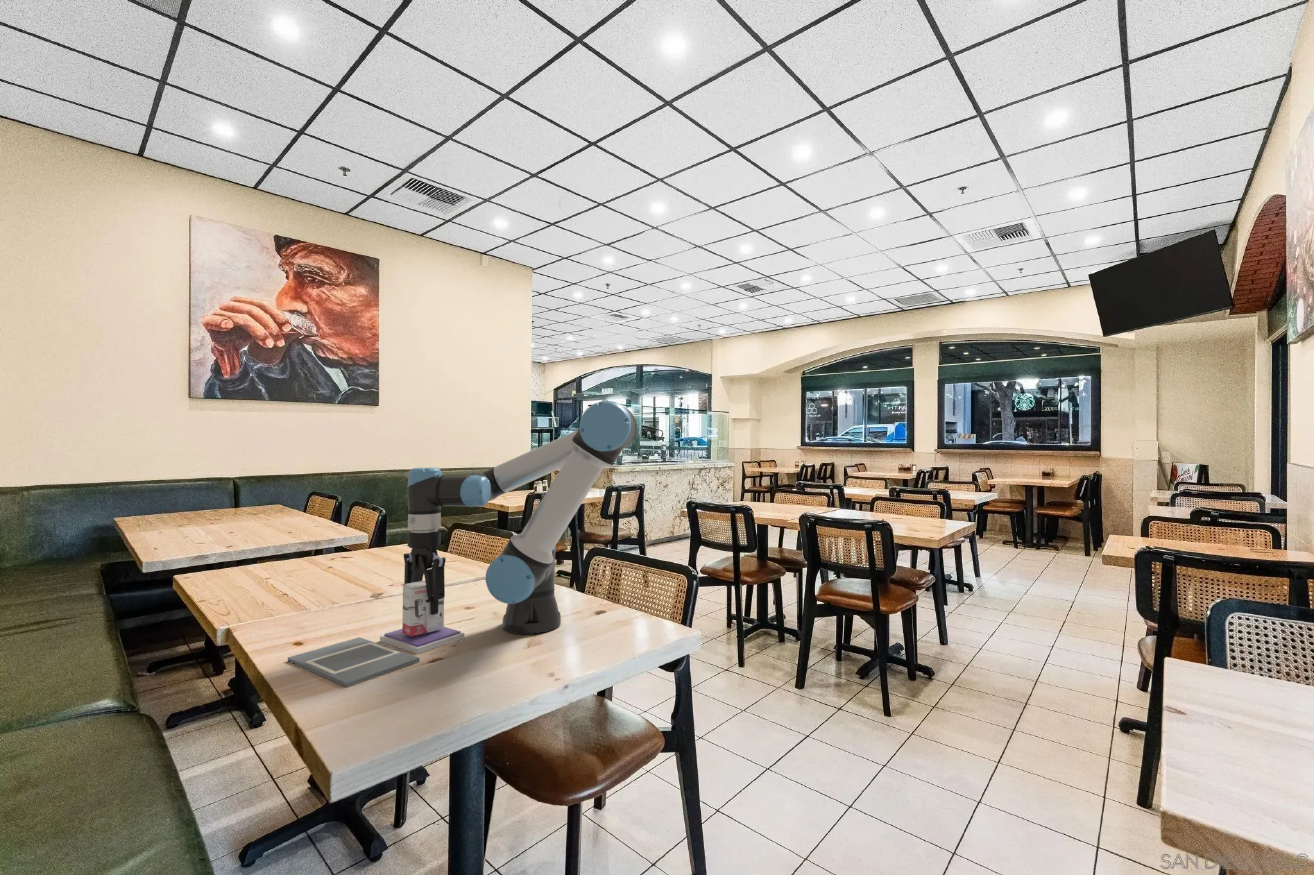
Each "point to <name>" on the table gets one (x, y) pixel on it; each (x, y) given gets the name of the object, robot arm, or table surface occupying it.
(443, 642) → the ink pad
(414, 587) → the ink box
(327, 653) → the slate board
